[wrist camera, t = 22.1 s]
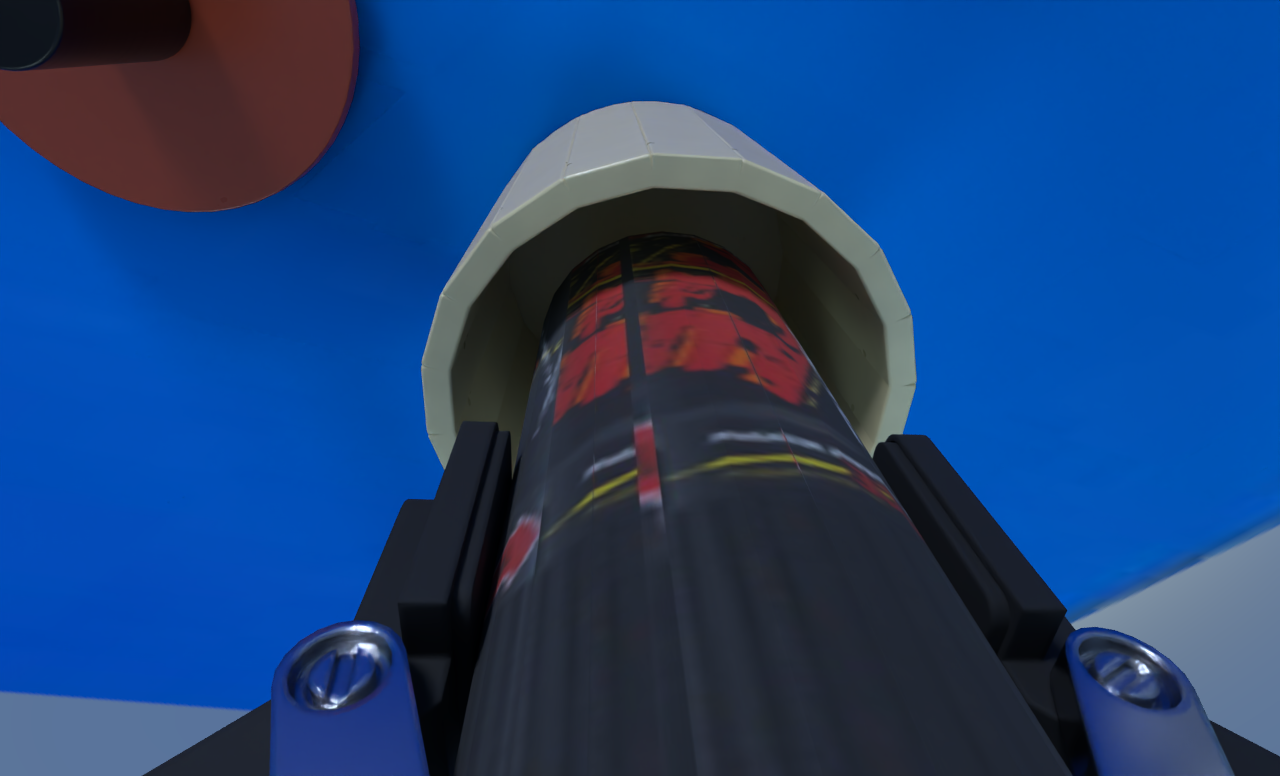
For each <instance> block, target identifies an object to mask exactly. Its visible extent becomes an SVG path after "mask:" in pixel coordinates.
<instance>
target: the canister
mask: <svg viewBox="0 0 1280 776" xmlns="http://www.w3.org/2000/svg"><path fill="white" fill-rule="evenodd" d="M659 231H665V232H674V233H683V234H691V235H696V236H698V237H701V238H703V239H706V240H708V241H711V242H713V243H716V244H718V245H721V246H723V247H725V248H726V249H727V250H729V251H730V252H731V253H733V254H734V255H735V256H736V257H738V258H739V259H740V260H742V261H743V262H744V263H746V264H747V265H748V266H749V267H750V269H751V270H752V272H753V273H754V274H755V276H756V277H757V278H758V280H759V281H760V283H761V284H762V285H763V287H764V288H765V290H766V291H767V293H768V294H769V296H770V297H771V299H772V301H773V302H774V304H775V305H776V307H777V309H778V310H779V312H780V313H781V315H782V316H783V318H784V320H785V321H786V323H787V324H788V326H789V328H790V329H791V331H792V332H793V334H794V335H795V337H796V339H797V340H798V342H799V343H800V345H801V346H802V348H803V350H804V351H805V353H806V354H807V356H808V358H809V359H810V361H811V362H812V364H813V365H814V367H815V369H816V370H817V372H818V373H819V375H820V377H821V378H822V380H823V381H824V383H825V384H826V386H827V388H828V389H829V391H830V392H831V394H832V396H833V397H834V399H835V400H836V402H837V403H838V405H839V407H840V408H841V410H842V411H843V413H844V415H845V416H846V418H847V419H848V421H849V422H850V424H851V426H852V427H853V429H854V430H855V432H856V434H857V435H858V437H859V438H860V440H861V441H862V443H863V445H864V446H865V448H866V449H867V451H868V453H869V454H870V456H871V457H872V458H873V454H874V451H875V448H876V446H877V444H878V443H880V442H885V441H886V439H887V438H888V436H890V435H892V434H903V430H904V427H905V423H906V420H907V416H908V413H909V409H910V406H911V402H912V399H913V395H914V392H915V388H916V384H915V383H916V365H915V350H914V336H913V321H912V315H911V310H910V308H909V306H908V304H907V302H906V299H905V297H904V295H903V293H902V291H901V289H900V287H899V285H898V282H897V280H896V278H895V276H894V274H893V272H892V270H891V267H890V265H889V263H888V261H887V259H886V257H885V255H884V253H883V250H882V249H881V248H880V246H879V244H878V243H877V242H876V241H874V240H873V239H872V238H871V237H870V236H869V235H868V234H867V233H866V232H865V231H864V230H863V229H862V228H861V227H860V226H859V225H858V224H857V223H855V222H854V221H853V220H852V219H851V218H850V217H849V216H848V215H847V214H846V213H845V212H844V211H843V210H842V209H841V208H840V207H839V206H837V205H836V204H835V203H834V202H833V201H832V200H831V199H830V198H829V197H828V196H827V195H826V194H825V193H823V192H822V191H821V190H819V189H818V188H817V187H815V186H814V185H813V184H811V183H810V182H809V181H807V180H806V179H805V178H803V177H802V176H801V175H799V174H798V173H797V172H795V171H794V170H793V169H791V168H790V167H788V166H787V165H786V164H784V163H783V162H782V161H780V160H779V159H778V158H776V157H775V156H774V155H772V154H771V153H770V152H768V151H767V150H766V149H764V148H763V147H762V146H760V145H759V144H758V143H756V142H755V141H753V140H752V139H751V138H749V137H748V136H747V135H745V134H744V133H743V132H741V131H740V130H739V129H737V128H736V127H734V126H733V125H731V124H729V123H726V122H724V121H722V120H720V119H718V118H716V117H713V116H711V115H709V114H707V113H704V112H702V111H700V110H697V109H694V108H692V107H689V106H685V105H681V104H672V103H665V102H658V101H640V102H635V101H632V102H627V103H622V104H615V105H611V106H607V107H604V108H601V109H597V110H594V111H591V112H589V113H587V114H584V115H581V116H580V117H577V118H575V119H574V120H572V121H570V122H569V123H567V124H565V125H564V126H562V127H561V128H559V129H558V130H556V131H554V132H553V133H552V134H551V135H550V136H548V137H547V138H546V139H545V140H544V141H542V142H541V143H539V144H538V145H537V146H536V147H535V148H534V149H533V150H532V151H531V152H530V154H529V155H528V157H527V158H526V159H525V161H524V162H523V163H522V165H521V166H520V168H519V169H518V170H517V172H516V173H515V175H514V176H513V177H512V179H511V180H510V182H509V183H508V184H507V186H506V187H505V189H504V190H503V192H502V194H501V195H500V197H499V198H498V200H497V202H496V203H495V205H494V207H493V208H492V210H491V212H490V213H489V215H488V217H487V218H486V220H485V221H484V223H483V225H482V226H481V228H480V230H479V231H478V233H477V235H476V236H475V238H474V239H473V241H472V243H471V244H470V246H469V248H468V249H467V251H466V253H465V254H464V256H463V257H462V259H461V261H460V262H459V264H458V266H457V267H456V269H455V271H454V272H453V274H452V276H451V277H450V279H449V280H448V282H447V284H446V285H445V287H444V289H443V292H442V293H441V295H440V297H439V301H438V304H437V308H436V312H435V315H434V319H433V322H432V326H431V329H430V333H429V337H428V340H427V344H426V347H425V351H424V355H423V358H422V367H421V373H422V383H423V394H424V405H425V416H426V426H427V432H428V434H429V439H430V441H431V443H432V445H433V447H434V449H435V451H436V453H437V456H438V458H439V460H440V462H441V464H442V466H443V468H444V470H445V468H446V465H447V463H448V460H449V457H450V454H451V451H452V449H453V446H454V443H455V440H456V437H457V435H458V432H459V429H460V426H461V424H462V422H463V421H479V422H497V423H498V427H499V431H510V434H511V457H512V478H513V473H514V468H515V463H516V458H517V453H518V448H519V443H520V438H521V433H522V428H523V423H524V418H525V413H526V408H527V403H528V398H529V393H530V388H531V383H532V378H533V373H534V368H535V363H536V358H537V353H538V348H539V343H540V338H541V333H542V328H543V323H544V320H545V317H546V314H547V312H548V309H549V306H550V303H551V301H552V298H553V295H554V293H555V292H556V291H557V289H558V288H559V286H560V285H561V284H562V282H563V281H564V280H565V278H566V277H567V276H568V274H569V273H570V271H571V270H572V269H573V268H574V267H575V266H577V265H578V264H579V263H581V262H582V261H583V260H584V259H586V258H587V257H588V256H589V255H591V254H592V253H593V252H595V251H596V250H597V249H599V248H601V247H603V246H606V245H608V244H610V243H613V242H615V241H617V240H620V239H622V238H625V237H627V236H631V235H638V234H645V233H652V232H659Z"/></svg>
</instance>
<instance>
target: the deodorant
mask: <svg viewBox="0 0 1280 776" xmlns="http://www.w3.org/2000/svg"><path fill="white" fill-rule="evenodd" d="M453 776H1073V775H1072V774H1071V772H1070V771H1069V769H1068V767H1067V766H1066V764H1065V763H1064V761H1063V760H1062V758H1061V756H1060V755H1059V753H1058V752H1057V750H1056V748H1055V747H1054V745H1053V744H1052V742H1051V741H1050V739H1049V737H1048V736H1047V734H1046V733H1045V731H1044V729H1043V728H1042V726H1041V725H1040V723H1039V722H1038V720H1037V718H1036V717H1035V715H1034V714H1033V712H1032V710H1031V709H1030V707H1029V706H1028V704H1027V703H1026V701H1025V699H1024V698H1023V696H1022V695H1021V693H1020V691H1019V690H1018V688H1017V687H1016V685H1015V684H1014V682H1013V680H1012V679H1011V677H1010V676H1009V674H1008V673H1007V671H1006V669H1005V668H1004V666H1003V665H1002V663H1001V661H1000V660H999V658H998V657H997V655H996V654H995V652H994V650H993V649H992V647H991V646H990V644H989V642H988V641H987V639H986V638H985V636H984V635H983V633H982V631H981V630H980V628H979V627H978V625H977V623H976V622H975V620H974V619H973V617H972V616H971V614H970V612H969V611H968V609H967V608H966V606H965V604H964V603H963V601H962V600H961V598H960V597H959V595H958V593H957V592H956V590H955V589H954V587H953V585H952V584H951V582H950V581H949V579H948V578H947V576H946V574H945V573H944V571H943V570H942V568H941V566H940V565H939V563H938V562H937V560H936V559H935V557H934V555H933V554H932V552H931V551H930V549H929V547H928V546H927V544H926V543H925V541H924V540H923V538H922V536H921V535H920V533H919V532H918V530H917V528H916V527H915V525H914V524H913V522H912V521H911V519H910V517H909V516H908V514H907V513H906V511H905V509H904V508H903V506H902V505H901V503H900V502H899V500H898V498H897V497H896V495H895V494H894V492H893V491H892V489H891V487H890V486H889V484H888V483H887V481H886V479H885V478H884V476H883V475H882V473H881V472H880V470H879V468H878V467H877V465H876V464H875V462H874V460H873V459H872V457H871V456H870V454H869V453H868V451H867V449H866V448H865V446H864V445H863V443H862V441H861V440H860V438H859V437H858V435H857V434H856V432H855V430H854V429H853V427H852V426H851V424H850V422H849V421H848V419H847V418H846V416H845V415H844V413H843V411H842V410H841V408H840V407H839V405H838V403H837V402H836V400H835V399H834V397H833V396H832V394H831V392H830V391H829V389H828V388H827V386H826V384H825V383H824V381H823V380H822V378H821V377H820V375H819V373H818V372H817V370H816V369H815V367H814V365H813V364H812V362H811V361H810V359H809V358H808V356H807V354H806V353H805V351H804V350H803V348H802V346H801V345H800V343H799V342H798V340H797V339H796V337H795V335H794V334H793V332H792V331H791V329H790V328H789V326H788V324H787V323H786V321H785V320H784V318H783V316H782V315H781V313H780V312H779V310H778V309H777V307H776V305H775V304H774V302H773V301H772V299H771V297H770V296H769V294H768V293H767V291H766V290H765V288H764V287H763V285H762V284H761V283H760V281H759V280H758V278H757V277H756V276H755V274H754V273H753V272H752V270H751V269H750V267H749V266H748V265H747V264H746V263H744V262H743V261H742V260H740V259H739V258H738V257H736V256H735V255H734V254H733V253H731V252H730V251H729V250H727V249H726V248H725V247H723V246H721V245H718V244H716V243H713V242H711V241H708V240H706V239H703V238H701V237H698V236H696V235H691V234H683V233H674V232H665V231H659V232H652V233H645V234H638V235H631V236H627V237H625V238H622V239H620V240H617V241H615V242H613V243H610V244H608V245H606V246H603V247H601V248H599V249H597V250H596V251H595V252H593V253H592V254H591V255H589V256H588V257H587V258H586V259H584V260H583V261H582V262H581V263H579V264H578V265H577V266H575V267H574V268H573V269H572V270H571V271H570V273H569V274H568V276H567V277H566V278H565V280H564V281H563V282H562V284H561V285H560V286H559V288H558V289H557V291H556V292H555V293H554V295H553V298H552V301H551V303H550V306H549V309H548V312H547V314H546V317H545V320H544V323H543V328H542V333H541V338H540V343H539V348H538V353H537V358H536V363H535V368H534V373H533V378H532V383H531V388H530V393H529V398H528V403H527V408H526V413H525V418H524V423H523V428H522V433H521V438H520V443H519V448H518V453H517V458H516V463H515V468H514V473H513V478H512V483H511V488H510V493H509V498H508V503H507V508H506V513H505V518H504V523H503V528H502V533H501V538H500V543H499V548H498V553H497V558H496V563H495V568H494V573H493V578H492V583H491V588H490V593H489V598H488V603H487V608H486V613H485V618H484V623H483V628H482V633H481V638H480V643H479V648H478V653H477V658H476V663H475V668H474V673H473V678H472V683H471V688H470V693H469V698H468V703H467V708H466V713H465V718H464V723H463V728H462V733H461V738H460V743H459V748H458V753H457V758H456V763H455V768H454V773H453Z"/></svg>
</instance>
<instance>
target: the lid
mask: <svg viewBox="0 0 1280 776" xmlns="http://www.w3.org/2000/svg"><path fill="white" fill-rule="evenodd" d="M359 48H360V44H359V26H358V14H357V8H356V3H355V0H0V121H1V122H2V123H3V124H4V125H5V126H6V127H7V128H8V129H9V130H11V131H12V132H13V133H14V134H15V135H16V136H18V137H19V138H20V139H21V140H22V141H23V142H25V143H26V144H27V145H28V146H29V147H30V148H32V149H33V150H34V151H36V152H37V153H39V154H40V155H41V156H43V157H44V158H46V159H47V160H48V161H50V162H51V163H53V164H54V165H55V166H57V167H59V168H60V169H62V170H64V171H65V172H67V173H69V174H71V175H72V176H74V177H76V178H77V179H79V180H81V181H83V182H85V183H87V184H89V185H91V186H93V187H95V188H98V189H100V190H102V191H104V192H106V193H108V194H111V195H114V196H117V197H120V198H123V199H125V200H128V201H131V202H134V203H137V204H142V205H146V206H151V207H155V208H159V209H164V210H174V211H183V212H215V211H222V210H228V209H235V208H239V207H242V206H246V205H249V204H252V203H256V202H259V201H261V200H263V199H265V198H267V197H269V196H271V195H274V194H276V193H278V192H280V191H282V190H284V189H286V188H287V187H289V186H290V185H291V184H293V183H294V182H296V181H297V180H299V179H300V178H302V177H303V176H304V175H305V174H306V173H307V172H309V171H310V170H311V169H312V168H313V167H314V166H315V165H316V164H317V163H318V162H319V161H320V160H321V158H322V157H323V156H324V154H325V153H326V152H327V150H328V149H329V148H330V147H331V145H332V144H333V142H334V141H335V139H336V137H337V135H338V133H339V131H340V129H341V127H342V126H343V124H344V122H345V119H346V116H347V113H348V110H349V108H350V105H351V102H352V99H353V94H354V90H355V85H356V80H357V75H358V62H359Z"/></svg>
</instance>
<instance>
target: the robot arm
mask: <svg viewBox="0 0 1280 776" xmlns="http://www.w3.org/2000/svg"><path fill="white" fill-rule="evenodd" d="M872 459H873V460H874V462H875V464H876V465H877V467H878V468H879V470H880V472H881V473H882V475H883V476H884V478H885V479H886V481H887V483H888V484H889V486H890V487H891V489H892V491H893V492H894V494H895V495H896V497H897V498H898V500H899V502H900V503H901V505H902V506H903V508H904V509H905V511H906V513H907V514H908V516H909V517H910V519H911V521H912V522H913V524H914V525H915V527H916V528H917V530H918V532H919V533H920V535H921V536H922V538H923V540H924V541H925V543H926V544H927V546H928V547H929V549H930V551H931V552H932V554H933V555H934V557H935V559H936V560H937V562H938V563H939V565H940V566H941V568H942V570H943V571H944V573H945V574H946V576H947V578H948V579H949V581H950V582H951V584H952V585H953V587H954V589H955V590H956V592H957V593H958V595H959V597H960V598H961V600H962V601H963V603H964V604H965V606H966V608H967V609H968V611H969V612H970V614H971V616H972V617H973V619H974V620H975V622H976V623H977V625H978V627H979V628H980V630H981V631H982V633H983V635H984V636H985V638H986V639H987V641H988V642H989V644H990V646H991V647H992V649H993V650H994V652H995V654H996V655H997V657H998V658H999V660H1000V661H1001V663H1002V665H1003V666H1004V668H1005V669H1006V671H1007V673H1008V674H1009V676H1010V677H1011V679H1012V680H1013V682H1014V684H1015V685H1016V687H1017V688H1018V690H1019V691H1020V693H1021V695H1022V696H1023V698H1024V699H1025V701H1026V703H1027V704H1028V706H1029V707H1030V709H1031V710H1032V712H1033V714H1034V715H1035V717H1036V718H1037V720H1038V722H1039V723H1040V725H1041V726H1042V728H1043V729H1044V731H1045V733H1046V734H1047V736H1048V737H1049V739H1050V741H1051V742H1052V744H1053V745H1054V747H1055V748H1056V750H1057V752H1058V753H1059V755H1060V756H1061V758H1062V760H1063V761H1064V763H1065V764H1066V766H1067V767H1068V769H1069V771H1070V772H1071V774H1072V775H1073V776H1280V757H1279V756H1278V755H1276V754H1274V753H1272V752H1270V751H1268V750H1266V749H1264V748H1262V747H1260V746H1259V745H1257V744H1255V743H1253V742H1251V741H1249V740H1247V739H1245V738H1243V737H1241V736H1239V735H1237V734H1235V733H1233V732H1232V731H1230V730H1228V729H1226V728H1223V727H1222V726H1220V725H1218V724H1216V723H1214V722H1212V721H1210V720H1209V719H1208V717H1207V715H1206V712H1205V710H1204V708H1203V706H1202V704H1201V702H1200V699H1199V697H1198V696H1197V693H1196V691H1195V689H1194V687H1193V686H1192V684H1191V683H1190V681H1189V680H1188V678H1187V677H1186V675H1185V674H1184V673H1183V672H1182V671H1181V670H1180V669H1179V668H1178V667H1177V666H1176V665H1175V664H1174V663H1173V662H1172V661H1171V660H1170V659H1169V658H1167V657H1166V656H1164V655H1163V654H1162V653H1160V652H1159V651H1157V650H1156V649H1154V648H1153V647H1152V646H1150V645H1148V644H1146V643H1144V642H1142V641H1140V640H1138V639H1136V638H1134V637H1132V636H1129V635H1126V634H1124V633H1121V632H1118V631H1115V630H1111V629H1105V628H1098V627H1089V628H1080V629H1078V630H1075V629H1074V628H1073V626H1072V625H1071V624H1070V623H1069V621H1068V620H1067V619H1066V617H1065V614H1066V612H1067V609H1066V608H1065V607H1064V606H1063V604H1062V603H1061V602H1060V601H1059V599H1058V598H1057V597H1056V596H1055V594H1054V593H1053V592H1052V591H1051V589H1050V588H1049V587H1048V586H1047V584H1046V583H1045V582H1044V581H1043V579H1042V578H1041V577H1040V576H1039V574H1038V573H1037V572H1036V571H1035V569H1034V568H1033V567H1032V566H1031V564H1030V563H1029V562H1028V561H1027V559H1026V558H1025V557H1024V556H1023V554H1022V553H1021V552H1020V551H1019V549H1018V548H1017V547H1016V546H1015V544H1014V543H1013V542H1012V541H1011V539H1010V538H1009V537H1008V536H1007V535H1006V533H1005V532H1004V531H1003V530H1002V528H1001V527H1000V526H999V525H998V523H997V522H996V521H995V520H994V518H993V517H992V516H991V515H990V513H989V512H988V511H987V510H986V508H985V507H984V506H983V505H982V503H981V502H980V501H979V500H978V498H977V497H976V496H975V495H974V493H973V492H972V491H971V490H970V488H969V487H968V486H967V485H966V483H965V482H964V481H963V480H962V478H961V477H960V476H959V475H958V473H957V472H956V471H955V470H954V468H953V467H952V466H951V465H950V463H949V462H948V461H947V460H946V458H945V457H944V456H943V455H942V453H941V452H940V451H939V450H938V448H937V447H936V446H935V445H934V443H933V442H932V441H931V440H930V439H929V438H928V437H927V436H925V435H905V434H892V435H890V436H888V438H887V439H886V441H885V442H880V443H878V444H877V446H876V448H875V451H874V454H873V458H872ZM511 483H512V457H511V434H510V431H499V427H498V423H497V422H479V421H463V422H462V424H461V426H460V429H459V432H458V435H457V437H456V440H455V443H454V446H453V449H452V451H451V454H450V457H449V460H448V463H447V465H446V468H445V471H444V474H443V476H442V479H441V482H440V485H439V488H438V490H437V493H436V496H435V499H434V500H422V499H408V500H406V501H405V502H404V504H403V505H402V507H401V509H400V512H399V514H398V516H397V519H396V521H395V523H394V526H393V528H392V531H391V533H390V535H389V538H388V540H387V542H386V545H385V547H384V550H383V552H382V554H381V557H380V559H379V561H378V564H377V566H376V569H375V571H374V573H373V576H372V578H371V580H370V583H369V585H368V588H367V590H366V592H365V595H364V597H363V599H362V602H361V604H360V607H359V609H358V611H357V614H356V616H355V618H354V621H347V622H341V623H336V624H333V625H330V626H328V627H325V628H322V629H319V630H317V631H315V632H314V633H312V634H310V635H309V636H307V637H305V638H304V639H302V640H300V641H299V642H298V643H297V644H296V645H295V646H294V647H293V648H292V649H291V650H290V651H289V652H288V653H286V654H285V656H284V657H283V659H282V661H281V662H280V664H279V665H278V667H277V668H276V670H275V674H274V678H273V682H272V687H271V700H270V701H268V702H266V703H264V704H263V705H261V706H259V707H258V708H256V709H254V710H253V711H251V712H249V713H248V714H246V715H244V716H242V717H241V718H239V719H237V720H236V721H234V722H232V723H231V724H229V725H227V726H226V727H224V728H222V729H221V730H219V731H217V732H215V733H214V734H212V735H210V736H209V737H207V738H205V739H204V740H202V741H200V742H198V743H197V744H195V745H193V746H192V747H190V748H188V749H187V750H185V751H183V752H182V753H180V754H178V755H177V756H175V757H173V758H171V759H170V760H168V761H166V762H165V763H163V764H161V765H160V766H158V767H156V768H155V769H153V770H151V771H149V772H148V773H146V774H144V775H143V776H453V773H454V768H455V763H456V758H457V753H458V748H459V743H460V738H461V733H462V728H463V723H464V718H465V713H466V708H467V703H468V698H469V693H470V688H471V683H472V678H473V673H474V668H475V663H476V658H477V653H478V648H479V643H480V638H481V633H482V628H483V623H484V618H485V613H486V608H487V603H488V598H489V593H490V588H491V583H492V578H493V573H494V568H495V563H496V558H497V553H498V548H499V543H500V538H501V533H502V528H503V523H504V518H505V513H506V508H507V503H508V498H509V493H510V488H511Z"/></svg>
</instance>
